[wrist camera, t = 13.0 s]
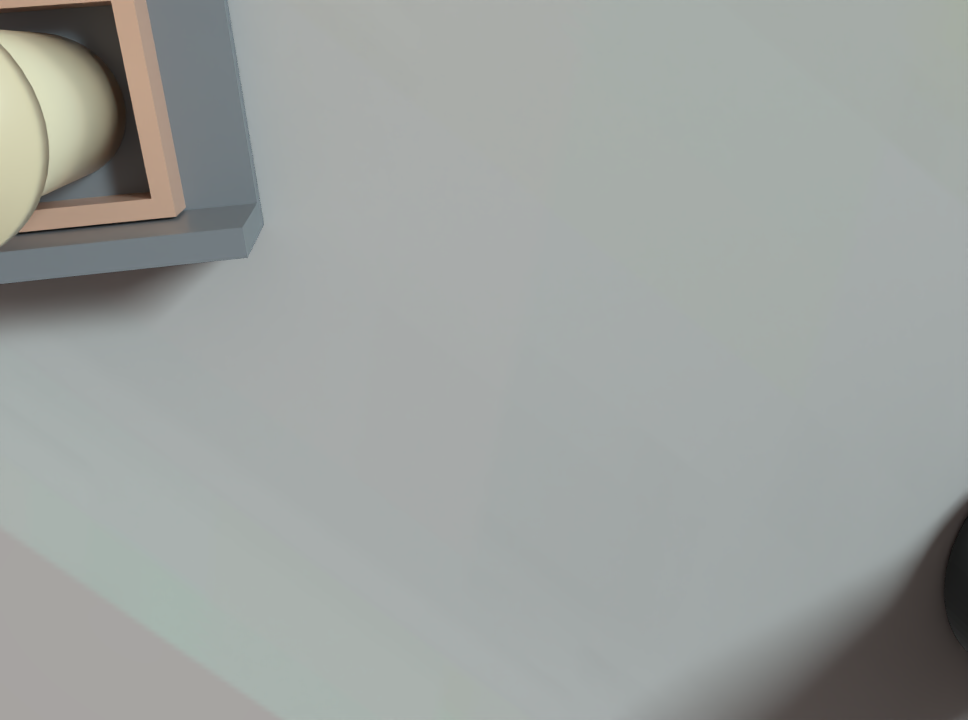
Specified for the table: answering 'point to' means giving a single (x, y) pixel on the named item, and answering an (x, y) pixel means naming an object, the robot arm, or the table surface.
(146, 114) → the housing
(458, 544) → the table surface
